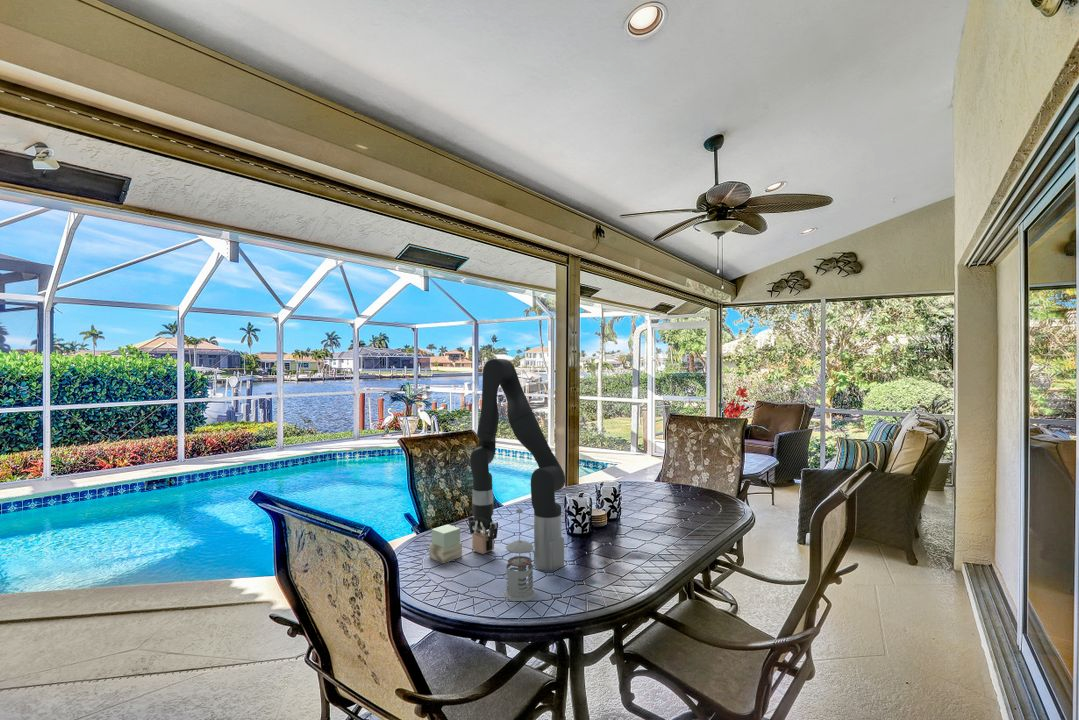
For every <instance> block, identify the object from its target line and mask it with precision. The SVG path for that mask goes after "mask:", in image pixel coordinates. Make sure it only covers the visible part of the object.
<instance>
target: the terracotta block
mask: <svg viewBox="0 0 1079 720" xmlns="http://www.w3.org/2000/svg"><path fill="white" fill-rule="evenodd" d="M471 535H472V537H471V538H472V551H474V552H477V553H479V554H482V555H483V554H486V553H489V552H492V551H494V550H495V539H493V540H492V550H490V551H486V541H487V540H486V537H485V535H484V534H483V531H481V532H480V533H477V534H474V535H473V534H471ZM488 536H489V537H490V535H489V533H488ZM493 536H494V534H493Z"/></svg>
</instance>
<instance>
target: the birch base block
mask: <svg viewBox="0 0 1079 720" xmlns="http://www.w3.org/2000/svg"><path fill="white" fill-rule="evenodd" d="M461 557H463V543H462V542H461V541H460V543H458V544H455V545H452V546H449V547H446V548H442V547H440V546H437V545H434V544H432V542H431V543H429V558H431V559H432V560H435V561H437V562H439V563H442V564H446V563H449V562H450V561H453V560H456V559H459V558H461Z"/></svg>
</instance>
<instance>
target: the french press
mask: <svg viewBox="0 0 1079 720" xmlns="http://www.w3.org/2000/svg"><path fill="white" fill-rule="evenodd" d="M523 512H524V511H523V509H522V508H517V509H516V514H518V517H519V518H518V531H519V533H518V540H514V541H512V542H509V543H508V544H507V545H506V546H505V549H506V550H507V552H509V553H511V554H519V555H517V556H512V557H510V558H508V559H507V564H506V590H504V592H503V594H504V596H505V597H506V598H507V599H506V598H505V597H504V596H503V597H504V598H505V599H506V600H508V599H509V600H508V601H510V600H511V602H515V601H522V602H527V601H528V602H529V601H530V600H533V599H534V598H536V596H537V591H536V590H535V589H534V584H533V583H534V573H533V571H534V568H535V566H534V563H535V553H534V545H533V544H532V543H530V542H528V541H526V540H521V514H522V513H523ZM531 551H532V552H533V561H532V558H531V557H532V556H531ZM526 553H529V557H528V556H523V555H522V554H526ZM532 562H533V564H532Z"/></svg>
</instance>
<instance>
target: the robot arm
mask: <svg viewBox="0 0 1079 720" xmlns="http://www.w3.org/2000/svg"><path fill="white" fill-rule="evenodd" d="M481 381H482V382H481V383H482V384H481V385H482V387H481V389H482V390H481V392H482V393H481V406H480V416H479V420H478V425H477V426H478V427H477V431H476V437H477V438H478V444H477V447H476V448H474V449H473V450H472V452H471V453H470V457H469V464H470V471H471V474H472V494H471V495H472V497H471V498H472V501H471V502H472V505H471V506H472V509H471V511H472V516H469V517H467V518H468V519H467V520H468V526H469V527H468V528H469V533H470V535H474V534H477V533H480V532H483V534H484V535H485V537H486V540H487V541H486V551H489V552H491V551H490V550H492V540H493V539H494V540H495V539H498V538H497V537H498V530H499V523H498V522H494V521H493V518H492V517H493V515H494V491H493V476H492V474H491V472H490V469H489V464H491V463H492V462H493V461H494V460H495V455H496V445H497V442H496V440H497V439H496V438H497V432H498V427H499V422H500V414H499V407H498V392H499V388H500V387H501V390H502V391H503V393H504V396H505V398H506V402H507V403H506V408H507V419H508V423H509V425H510V427H511V429H512V432H513V434H514V437H515V438H516V439H517V441H519V443H520V444H521V445H522V446H523V447H524V448H525V449H527V451H528V452H530V454H531V455H532V457H533V458H534V460H535V461H536V464H537V467H538V468H535V470H533V472H532V473H531V476H530V497H531V498H530V499H531V505H532V508H533V539H534V540H533V543H534V545H533V550H534V552H533V554H534V553H535V563H534V562H533V564H534V568H536V569H538V570H541V571H548V572H554V571H556V570H558V569H561V568H563V567H565V537H563V535H562V506H561V505H560V504H559V502H558V503H557V502H556V495H555V494H556V492H558V491H561V490H562V489H563V488H564V487H565V483H566V475H565V472H564V470H563V468H562V466H561V464H560V463H559V461H558V459H557V458H556V456H555V454H554V453H553V451H552V449H551V447H550V446H549V443H548V442H547V438H546V437H545V435H544V433H543V431H542V429H541V426H540V424H539V422H538V420H537V418H536V416H535V413H534V411H533V410H532V408H531V405H530V403H529V401H528V399H527V396H526V394H525V392H524V390H523V388H522V384H521V381H520V379H519V376H518V373H517V370H516V368H515V365H514V364H513V363H512V362H511V361H510V360H508V359H505V358H496V357H495V358H489V359H488V360H486V362H485V363H484V366H483V369H482V380H481ZM488 533H489V535H490V537H489V536H488ZM493 534H494V536H493ZM492 551H493V550H492Z"/></svg>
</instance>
